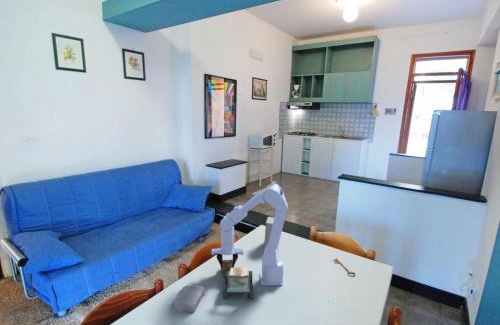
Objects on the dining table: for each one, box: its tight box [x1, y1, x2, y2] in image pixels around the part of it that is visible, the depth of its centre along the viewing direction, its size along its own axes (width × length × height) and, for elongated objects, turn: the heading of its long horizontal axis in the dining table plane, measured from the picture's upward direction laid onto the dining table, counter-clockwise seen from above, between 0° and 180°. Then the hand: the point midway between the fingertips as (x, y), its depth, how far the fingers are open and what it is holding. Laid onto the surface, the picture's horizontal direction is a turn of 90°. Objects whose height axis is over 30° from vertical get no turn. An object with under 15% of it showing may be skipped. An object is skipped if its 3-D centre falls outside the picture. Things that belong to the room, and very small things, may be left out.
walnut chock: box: [221, 259, 233, 277], centre depth 120 cm, size 4×7×6 cm, turn 2°
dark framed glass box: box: [222, 267, 254, 299], centre depth 109 cm, size 12×14×10 cm
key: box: [332, 258, 356, 278], centre depth 127 cm, size 6×1×15 cm
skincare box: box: [263, 216, 274, 249], centre depth 145 cm, size 8×7×16 cm
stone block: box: [172, 284, 206, 313], centre depth 103 cm, size 12×5×10 cm
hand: (227, 268), depth 120 cm, fingers closed on walnut chock, 4 cm apart
